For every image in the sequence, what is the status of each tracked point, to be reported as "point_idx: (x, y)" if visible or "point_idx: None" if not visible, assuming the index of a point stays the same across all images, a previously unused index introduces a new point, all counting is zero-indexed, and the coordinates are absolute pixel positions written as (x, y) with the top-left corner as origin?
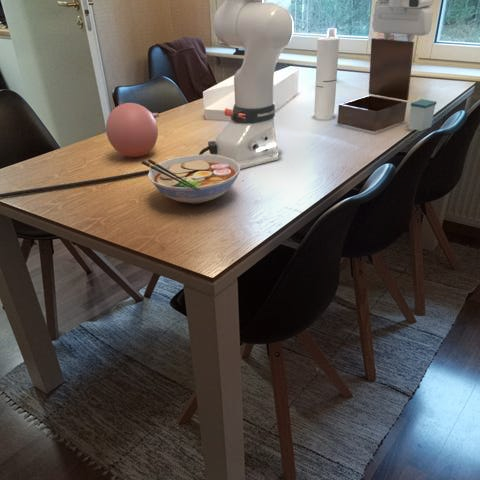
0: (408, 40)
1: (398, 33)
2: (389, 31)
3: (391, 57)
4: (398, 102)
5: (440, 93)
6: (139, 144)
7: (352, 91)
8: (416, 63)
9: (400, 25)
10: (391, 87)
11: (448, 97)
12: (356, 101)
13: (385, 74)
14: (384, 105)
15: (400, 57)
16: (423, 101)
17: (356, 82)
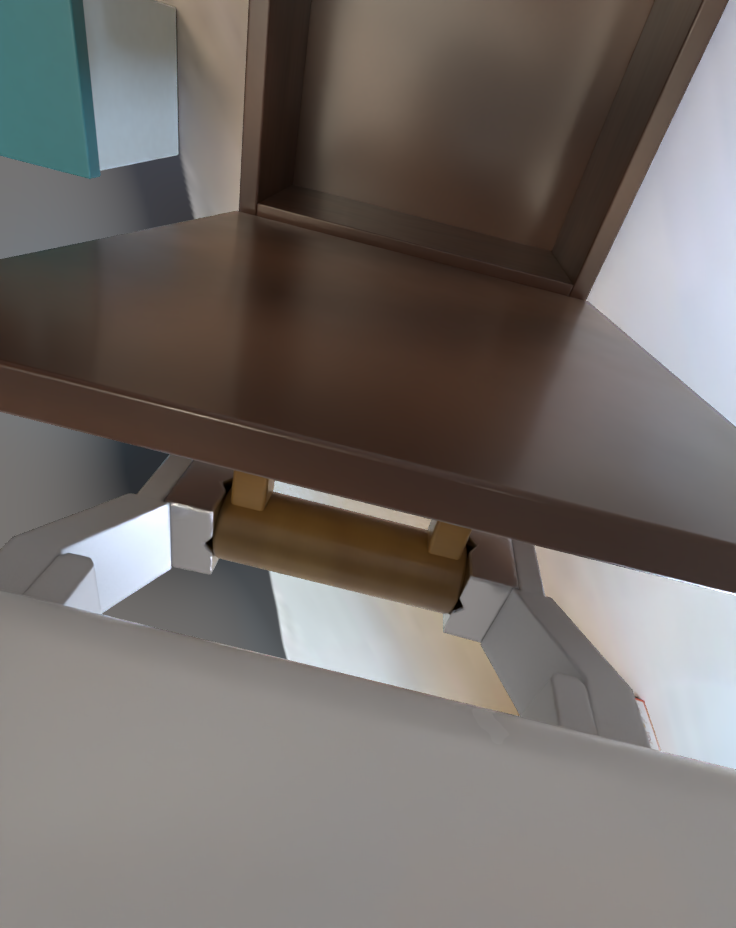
0: (73, 528)
1: (248, 651)
2: (511, 739)
3: (367, 333)
4: (306, 213)
5: (352, 672)
6: None
7: (731, 643)
8: None
9: (121, 850)
10: (372, 258)
11: (305, 639)
12: (662, 78)
13: (447, 301)
14: (426, 234)
15: (209, 301)
16: (30, 97)
17: (728, 743)
